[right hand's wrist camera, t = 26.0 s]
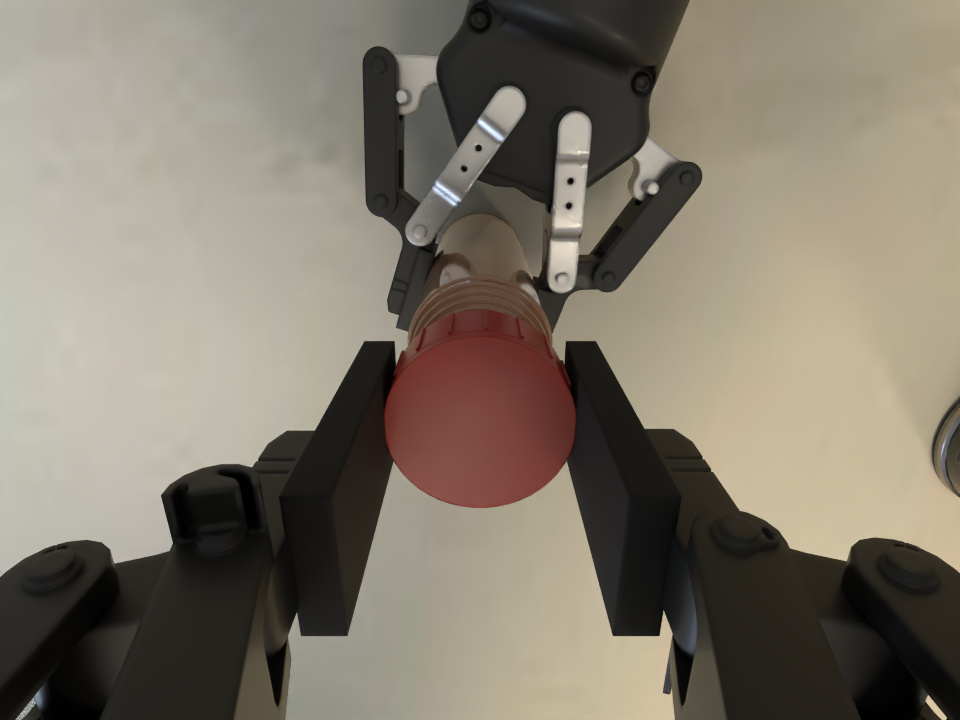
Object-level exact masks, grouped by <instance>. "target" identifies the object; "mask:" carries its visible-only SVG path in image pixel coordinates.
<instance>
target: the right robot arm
mask: <svg viewBox="0 0 960 720" xmlns="http://www.w3.org/2000/svg"><path fill="white" fill-rule="evenodd" d="M395 368H396V359H395V342H394V341H364V343H363V345H362V347H361V349H360V350H359V352H358V354H357V356H356V358H355V359H354V361H353V363H352V365H351V367H350V368H349V370H348V372H347V374H346V376H345V377H344V379H343V381H342V383H341V385H340V387H339V388H338V390H337V392H336V394H335V396H334V397H333V399H332V401H331V403H330V405H329V406H328V408H327V410H326V412H325V414H324V415H323V417H322V419H321V421H320V423H319V424H318V426H317V428H316V430H315V431H286V432H285V433H283V434H282V435H280V436H279V437H277V438H276V439H274V440H273V441H271V442H270V443H269V444H268V445H267V446H266V448H265V449H264V451H263V452H262V454H261V455H260V457H259V458H258V461H256V463H255V464H254V466H253V467H252V468H251V467H247V466H243V465H239V464H221V465H216V466H211V467H206V468H202V469H199V470H197V471H194V472H191V473H189V474H186V475H184V476H183V477H181V478H179V479H178V480H176V481H175V482H173V483H172V484H170V485H169V486H168V488H167V489H166V490H165V491H164V492H163V494H162V495H161V497H162V501H163V505H164V509H165V513H166V517H167V521H168V525H169V529H170V533H171V537H172V541H173V545H172V547H171V549H170V551H168V552H165V553H161V554H158V555H154V556H149V557H144V558H140V559H135V560H130V561H125V562H121V563H116V564H114V561H113V558H112V555H111V551H110V549H109V548H108V547H106V546H105V545H104V544H103V543H102V542H96V541H90V540H81V541H72V542H66V543H62V544H57V545H56V546H55V545H54V546H51V547H48V548H45V549H43V550H41V551H39V552H37V553H35V554H33V555H31V556H29V557H27V558H25V559H23V560H22V561H21V562H19V563H18V564H16V565H15V566H14V567H12V568H11V569H10V570H8V571H7V572H6V573H4V574H3V575H2V576H1V577H0V720H15V719H16V718H17V717H18V716H19V714H20V713H21V712H22V711H23V709H24V708H25V707H26V706H27V704H28V703H29V702H30V701H31V700H32V698H33V697H34V700H35V702H36V704H35V705H34V707H33V708H32V709H31V710H30V712H29V713H28V714H27V715H26V716H25V717H24V718H23V719H22V720H285V716H286V706H287V696H288V686H289V676H290V666H291V654H290V647H289V641H288V634H289V631H290V629H291V626H292V623H293V621H294V618H295V616H296V613H297V614H298V620H299V626H300V633H301V636H348V632H349V628H350V624H351V620H352V617H353V613H354V609H355V605H356V601H357V598H358V594H359V590H360V586H361V582H362V579H363V575H364V571H365V567H366V563H367V560H368V556H369V552H370V548H371V544H372V541H373V537H374V533H375V529H376V525H377V522H378V518H379V514H380V510H381V506H382V503H383V499H384V495H385V491H386V487H387V484H388V480H389V476H390V472H391V468H392V465H393V461H394V460H393V459H392V457H391V455H390V453H389V450H388V447H387V445H386V434H385V420H384V407H385V403H386V398H387V396H388V393H389V390H390V387H391V384H392V381H393V379H394V376H393V374H394V371H395ZM565 368H566V371H567V374H568V376H569V379H570V382H571V385H572V387H570V390H571V393H572V396H573V399H574V402H575V407H576V426H575V439H574V445H573V447H572V450H571V453H570V455H569V457H568V459H567V463H568V467H569V471H570V475H571V478H572V482H573V486H574V490H575V494H576V497H577V501H578V505H579V509H580V513H581V516H582V520H583V524H584V528H585V532H586V535H587V539H588V543H589V547H590V551H591V554H592V558H593V562H594V566H595V570H596V573H597V577H598V581H599V585H600V589H601V592H602V596H603V600H604V604H605V608H606V611H607V615H608V619H609V623H610V627H611V630H612V634H613V636H659V635H660V629H661V623H662V616H663V610H664V612H665V614H666V617H667V620H668V622H669V625H670V627H671V630H672V633H673V635H672V641H671V647H670V653H669V659H668V664H667V670H666V676H665V682H664V689H663V693H665V694H670V693H671V687H672V694H673V704H674V714H675V720H941V719H940V718H939V717H938V716H937V715H936V714H935V713H934V712H933V710H932V709H931V708H930V707H929V705H928V704H927V703H926V702H925V701H926V698H927V696H928V695H929V696H930V697H931V699H932V700H933V701H934V702H935V703H936V705H937V706H938V707H939V708H940V710H941V711H942V712H943V713H944V714H945V716H946V717H947V719H946V720H960V573H959V572H958V571H957V570H955V569H954V568H953V567H951V566H950V565H948V564H947V563H946V562H944V561H943V560H942V559H940V558H939V557H937V556H935V555H933V554H931V553H929V552H927V551H925V550H923V549H921V548H919V547H917V546H914V545H912V544H909V543H904V542H902V541H897V540H893V539H884V538H869V539H863V540H859V541H858V542H857V543H856V544H854V545H853V546H852V547H851V550H850V553H849V556H848V559H847V562H846V561H842V560H837V559H832V558H827V557H823V556H818V555H813V554H808V553H804V552H801V551H797V550H793V549H790V548H789V546H788V544H787V542H786V540H785V539H784V538H783V536H782V535H781V533H780V532H779V531H778V530H777V529H776V528H774V527H773V526H772V525H770V524H769V523H768V522H766V521H765V520H763V519H761V518H758V517H756V516H754V515H752V514H749V513H747V512H742V511H739V509H738V508H737V506H736V505H735V503H734V502H733V500H732V499H731V498H730V496H729V495H728V493H727V492H726V490H725V489H724V487H723V486H722V484H721V483H720V481H719V480H718V479H717V477H716V476H715V474H714V473H713V472H711V468H710V467H709V465H708V464H707V463H706V461H705V460H703V459H702V455H701V454H700V452H699V451H698V449H697V448H696V446H695V445H694V444H693V442H692V441H690V440H689V439H687V438H686V437H685V436H683V435H682V434H680V433H679V432H677V431H676V430H674V429H644V427H643V426H642V424H641V422H640V420H639V418H638V417H637V415H636V413H635V411H634V409H633V407H632V406H631V404H630V402H629V400H628V398H627V397H626V395H625V393H624V391H623V389H622V388H621V386H620V384H619V382H618V380H617V379H616V377H615V375H614V373H613V371H612V370H611V368H610V366H609V364H608V362H607V361H606V359H605V357H604V355H603V353H602V351H601V350H600V348H599V346H598V344H597V342H596V341H566V349H565Z"/></svg>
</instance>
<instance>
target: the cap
mask: <svg viewBox="0 0 960 720" xmlns="http://www.w3.org/2000/svg"><path fill="white" fill-rule="evenodd" d="M393 376H394V379H393V381H392V384H391V387H390V390H389V393H388V396H387V398H386V403H385V407H384V420H385V434H386V445H387V447H388V450H389V453H390V455H391V457H392V459H393V460H394V462H395V464H396V465H397V467H398V468H399V470H400V471H401V472H402V474H403V475H404V476H405V477H406V478H407V479H408V480H409V481H410V482H411V483H413V484H414V485H415V486H416V487H417V488H419V489H420V490H422V491H423V492H425V493H426V494H428V495H430V496H432V497H434V498H436V499H438V500H441V501H444V502H447V503H450V504H454V505H458V506H463V507H472V508H488V507H497V506H502V505H507V504H510V503H513V502H516V501H519V500H522V499H524V498H526V497H528V496H530V495H532V494H533V493H535V492H537V491H538V490H540V489H541V488H543V487H544V486H545V485H546V484H548V483H549V482H550V481H551V480H552V479H553V478H554V477H555V476H556V475H557V474H558V472H559V471H560V470H561V468H562V467H563V466H564V464H565V462H566V460H567V459H568V457H569V455H570V453H571V450H572V447H573V445H574V439H575V426H576V407H575V402H574V399H573V396H572V393H571V390H570V387H572V385H571V382H570V379H569V376H568V374H567V371H566V368H565V365H564V363H563V360H561V361H560V359H559V357H558V355H557V353H556V352H555V350H554V348H553V347H552V345H551V344H550V343H549V341H548V338H547V336H546V335H545V334H544V335H542V334H541V333H540V332H539V331H538V330H536V329H535V328H534V327H532V326H531V325H529V324H528V323H526V322H524V321H522V320H521V317H519V316H517V318H516V317H513V316H511V315H508V314H504V313H500V312H495V311H488V309H486V308H484V310H473V311H465V312H460V313H456V314H454V312H452V313H450V315H449V316H447V317H444V318H442V319H440V320H438V321H436V322H434V323H432V324H431V325H429V326H428V327H426V328H424V327H423V328H421V331H420V333H419V334H418V335H417V336H416V337H415V338H414V339H413V340H412V342H411V343H410V344H409V345H408V347H407V348H406V350H405V351H403V350H402V352H401V354H400V357H399V360H398V363H397V365H396V368H395V371H394V374H393Z"/></svg>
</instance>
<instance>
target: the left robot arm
mask: <svg viewBox="0 0 960 720" xmlns="http://www.w3.org/2000/svg"><path fill="white" fill-rule="evenodd" d="M689 1H690V0H469V3H468V7H467V10H466V14H465V17H464V20H463V22H462V25H461V27H460V28H459V30H458V32H457V33H456V35H455V36H454V37H453V38H452V40H451V41H450V42H449V43H448V44H447V45H446V46H445V47H444V48H443V49H442V51H441V53H440V55H439V56H426V55H409V54H395V53H392V52H391V51H389V50H388V49H386V48H384V47H379V46H377V47H373V48H371V49H369V50H368V51H367V52H366V54H365V56H364V58H363V99H364V143H365V187H366V205H367V207H368V209H369V211H370V212H371V213H372V214H374V215H376V216H378V217H383V218H384V219H385V220H387V221H388V222H389V223H391V224H392V225H393V226H394V227H396V228H397V229H398V231H399V232H400V234H401V236H402V241H403V246H402V250H401V253H400V257H399V260H398V264H397V267H396V271H395V274H394V278H393V281H392V285H391V288H390V292H389V295H388V299H387V302H388V311H389V312H391V313H394V314H397V315H399V318H398V322H397V325H396V328H399V329H402V330H405V331H408V332H409V328H410V325H411V321H412V318H413V316H414V313H415V310H416V307H417V305H418V302H419V299H420V296H421V294H422V291H423V288H424V285H425V283H426V280H427V277H428V274H429V272H430V270H431V267H432V264H433V261H434V259H435V255H436V252H437V249H438V246H439V244H436V243H435V241H436V238H437V235H438V232H439V231H440V229H441V228H442V226H443V225H444V224H445V222H446V221H447V219H448V218H449V217H450V215H451V214H452V212H453V211H454V210H455V208H456V207H457V205H458V204H459V203H460V202H461V200H462V199H463V198H464V196H465V195H466V194H467V192H468V191H469V189H470V188H471V186H472V185H473V184H474V182H475V181H476V180H479V181H482V182H485V183H488V184H490V185H493V186H501V187H515V188H517V189H518V190H520V191H521V192H523V193H524V194H526V195H527V196H528V197H530V198H531V199H533V200H536V201H538V202H541V203H544V205H543V250H542V270H541V273H540V275H539V278H538V277H535V276H533V280H534V283H535V285H536V288H537V291H538V294H539V297H540V299H541V302H542V305H543V308H544V310H545V313H546V316H547V319H548V321H549V325H550V328H551V333H553V330H554V328H555V325H556V323H557V321H558V318H559V316H560V313H561V311H562V308H563V306H564V303H565V301H566V299H567V298H568V297H569V296H570V295H571V294H572V293H574V292H575V291H578V290H591V289H599V290H600V291H602V292H612V291H614V290H616V289H617V288H618V287H619V286H620V285H621V284H622V282H623V281H624V280H625V279H626V277H627V276H628V275H629V274H630V272H631V271H632V270H633V269H634V267H635V266H636V265H637V264H638V262H639V261H640V260H641V259H642V257H643V256H644V255H645V254H646V252H647V251H648V250H649V248H650V247H651V246H652V245H653V243H654V242H655V241H656V240H657V238H658V237H659V236H660V235H661V233H662V232H663V231H664V230H665V228H666V227H667V226H668V225H669V223H670V222H671V221H672V220H673V218H674V217H675V216H676V215H677V213H678V212H679V211H680V210H681V208H682V207H683V206H684V204H685V203H686V202H687V201H688V199H689V198H690V197H691V196H692V194H693V193H694V192H695V191H696V189H697V188H698V187H699V185H700V183H701V181H702V172H701V169H700V167H699V166H698V165H697V164H695V163H692V162H686V161H680V160H678V159H677V158H676V157H674V156H673V155H672V154H671V153H669V152H668V151H667V150H666V149H664V148H663V147H662V146H661V145H659V144H658V143H657V142H655V141H654V140H653V139H652V138H650V137H649V136H648V134H649V129H650V121H649V103H650V97H651V94H652V91H653V88H654V86H655V83H656V81H657V79H658V76H659V74H660V71H661V69H662V67H663V64H664V62H665V59H666V57H667V54H668V52H669V49H670V47H671V45H672V42H673V40H674V37H675V35H676V32H677V30H678V27H679V25H680V23H681V20H682V18H683V15H684V13H685V10H686V8H687V5H688V3H689ZM434 85H439V89H440V92H441V95H442V99H443V102H444V105H445V108H446V112H447V115H448V118H449V122H450V125H451V128H452V131H453V135H454V138H455V141H456V145H457V148H458V149H457V151H456V152H455V154H454V155H453V157H452V158H451V160H450V161H449V162H448V164H447V165H446V167H445V168H444V170H443V171H442V173H441V174H440V176H439V177H438V179H437V180H436V181H435V183H434V184H433V186H432V188H431V189H430V190H429V192H428V193H427V195H426V196H425V198H424V199H423V201H422V202H421V203H420V202H419V201H418V200H416V199H415V198H414V197H413V196H411V195H410V194H409V193H408V192H406V191H405V190H404V115H412V114H415V113H416V112H417V111H418V110H419V109H420V107H421V104H422V99H423V95H424V93H425V92H426V90H427V89H428V88H430V87H432V86H434ZM630 158H631V160H632V162H633V173H632V175H631V177H630V179H629V181H628V191H629V193H630V195H631V196H632V199H631V200H630V201H629V203H628V204H627V205H626V207H625V208H624V209H623V211H622V212H621V213H620V215H619V216H618V217H617V219H616V220H615V221H614V222H613V224H612V225H611V226H610V228H609V229H608V230H607V232H606V233H605V234H604V236H603V237H602V238H601V240H600V241H599V242H598V244H597V245H596V246H595V248H594V249H593V250H592V251H591V253H590V254H589V255H579V242H580V237H581V235H582V230H583V219H584V206H585V193H586V189H587V188H588V187H590V186H591V185H593V184H594V183H596V182H597V181H598V180H600V179H601V178H603V177H604V176H606V175H607V174H608V173H610V172H611V171H613V170H614V169H615V168H617V167H618V166H620V165H621V164H623V163H624V162H625V161H627V160H628V159H630ZM464 165H465V166H464ZM934 464H935V469H936V472H937V474H938V476H939V478H940V480H941V481H942V483H943V484H944V485H945V486H946V487H947V488H948V489H949V490H950V491H952V492H953V493H954V494H956V495H957V496H958V497H960V403H959V404H958V405H957V406H956V408H955V409H954V410H953V411H952V412H951V414H950V415H949V416H948V418H947V419H946V421H945V422H944V424H943V426H942V428H941V430H940V432H939V434H938V437H937V440H936V444H935V449H934Z"/></svg>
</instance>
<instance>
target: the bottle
mask: <svg viewBox="0 0 960 720" xmlns="http://www.w3.org/2000/svg"><path fill="white" fill-rule="evenodd" d="M484 308H486V309H488V311H495V312H500V313H504V314H508V315H511V316H513V317H516V318H517V316H519V317H521V320H522V321H524V322H526V323H528V324H529V325H531V326H532V327H534V328H535V329H536V330H538V331H539V332H540V333H541V334H542V335H544V334H545V335H546V336H547V338H548V341H549V343H550V344H551V345H552V333H551V328H550V325H549V321H548V319H547V316H546V313H545V310H544V308H543V305H542V302H541V299H540V297H539V294H538V291H537V288H536V285H535V283H534V280H533V277H532V274H531V272H530V269H529V266H528V263H527V261H526V258H525V255H524V252H523V250H522V247H521V244H520V241H519V239H518V237H517V235H516V233H515V232H514V230H513V229H512V228H511V227H510V226H509V225H508V224H507V223H506V222H504V221H503V220H501V219H499V218H497V217H495V216H492V215H488V214H472V215H468V216H465V217H463V218H461V219H459V220H457V221H456V222H454V223H453V224H452V225H451V226H450V227H449V228H448V229H447V230H446V232H445V233H444V235H443V237H442V239H441V241H440V244H439V247H438V250H437V252H436V255H435V259H434V261H433V264H432V267H431V270H430V272H429V274H428V277H427V280H426V283H425V285H424V288H423V291H422V294H421V296H420V299H419V302H418V305H417V307H416V310H415V313H414V316H413V318H412V321H411V325H410V328H409V333H408V345H409V344H410V343H411V342H412V340H413V339H414V338H415V337H416V336H417V335H418V334H419V333H420V331H421V328H423V327H424V328H426V327H428V326H429V325H431V324H432V323H434V322H436V321H438V320H440V319H442V318H444V317H447V316H449V315H450V313H452V312H454V314H456V313H460V312H465V311H473V310H484Z"/></svg>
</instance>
